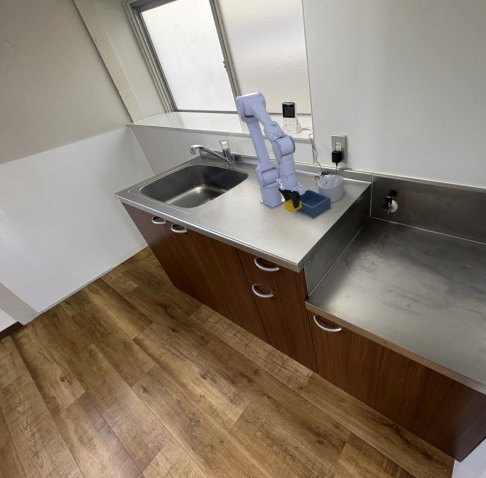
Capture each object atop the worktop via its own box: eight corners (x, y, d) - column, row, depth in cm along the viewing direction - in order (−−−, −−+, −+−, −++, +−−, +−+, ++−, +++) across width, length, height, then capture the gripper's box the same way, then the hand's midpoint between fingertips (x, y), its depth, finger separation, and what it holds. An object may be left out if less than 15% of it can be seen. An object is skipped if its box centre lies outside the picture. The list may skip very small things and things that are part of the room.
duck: (285, 209, 98) (283, 197, 94) (296, 203, 100) (294, 191, 97) (291, 213, 95) (289, 200, 92) (303, 206, 98) (301, 194, 95)
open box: (292, 208, 109) (291, 198, 106) (309, 198, 114) (308, 189, 111) (313, 218, 101) (312, 208, 98) (330, 208, 106) (330, 197, 103)
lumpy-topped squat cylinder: (346, 190, 116) (345, 173, 111) (335, 204, 107) (335, 186, 102) (325, 188, 121) (324, 171, 115) (314, 201, 112) (312, 183, 107)
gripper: (267, 171, 91) (274, 203, 100) (291, 181, 82) (297, 216, 90) (282, 165, 94) (287, 196, 103) (307, 174, 85) (311, 208, 94)
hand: (293, 205), depth 97 cm, fingers closed on duck, 4 cm apart
